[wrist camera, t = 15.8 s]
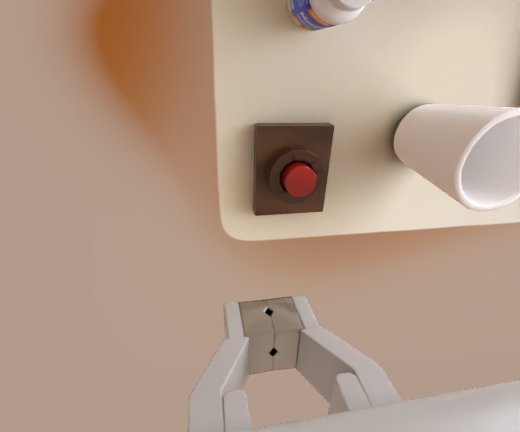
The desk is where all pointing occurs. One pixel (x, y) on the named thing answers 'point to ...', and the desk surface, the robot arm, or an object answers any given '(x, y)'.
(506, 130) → the cup
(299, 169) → the button
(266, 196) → the button block
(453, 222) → the desk surface
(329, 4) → the pill bottle
